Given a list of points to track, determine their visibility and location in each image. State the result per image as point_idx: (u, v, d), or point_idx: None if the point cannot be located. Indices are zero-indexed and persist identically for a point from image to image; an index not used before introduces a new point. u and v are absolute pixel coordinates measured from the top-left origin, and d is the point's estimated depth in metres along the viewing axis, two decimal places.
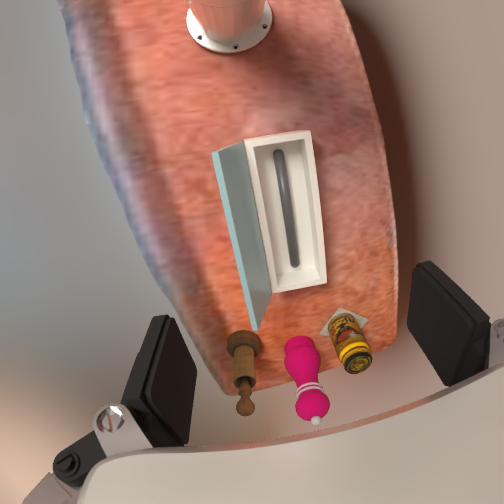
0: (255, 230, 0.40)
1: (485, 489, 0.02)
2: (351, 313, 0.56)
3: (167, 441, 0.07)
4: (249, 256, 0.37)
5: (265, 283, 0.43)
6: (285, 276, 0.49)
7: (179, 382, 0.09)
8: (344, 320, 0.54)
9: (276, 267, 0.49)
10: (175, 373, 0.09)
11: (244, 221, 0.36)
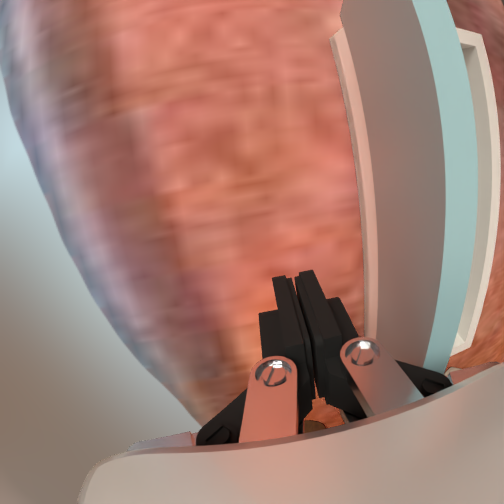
0: None
1: (485, 489, 0.02)
2: None
3: None
4: None
5: None
6: None
7: None
8: None
9: None
10: None
11: None
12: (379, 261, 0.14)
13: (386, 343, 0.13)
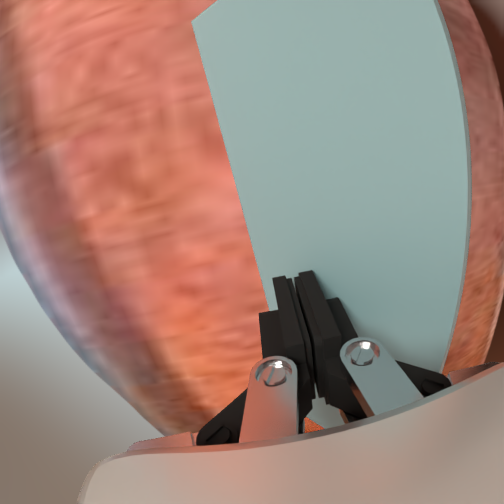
0: None
1: (485, 489, 0.02)
2: None
3: None
4: None
5: None
6: None
7: None
8: None
9: None
10: None
11: None
12: (270, 290, 0.14)
13: None
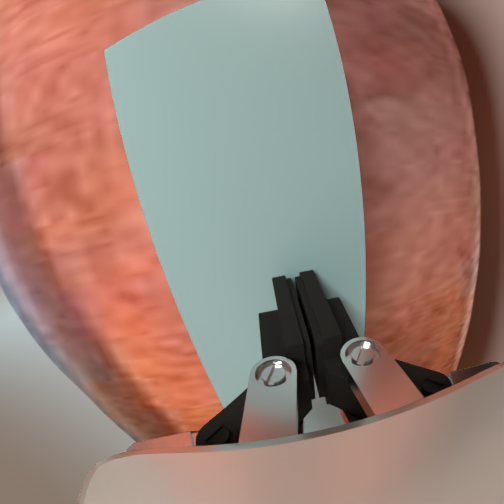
0: None
1: (485, 489, 0.02)
2: None
3: None
4: None
5: None
6: None
7: None
8: None
9: None
10: None
11: None
12: (184, 305, 0.14)
13: (253, 355, 0.14)
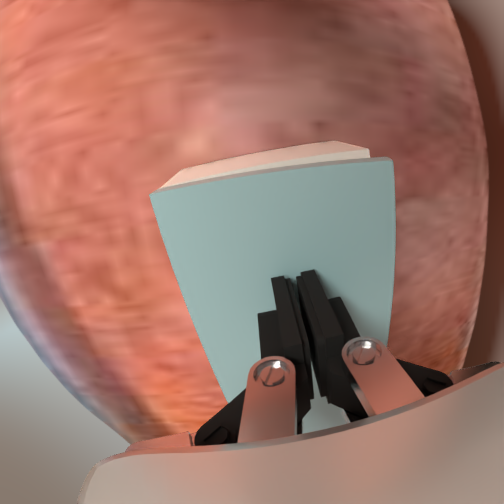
0: None
1: (485, 489, 0.02)
2: None
3: None
4: None
5: None
6: None
7: None
8: None
9: None
10: None
11: None
12: None
13: None
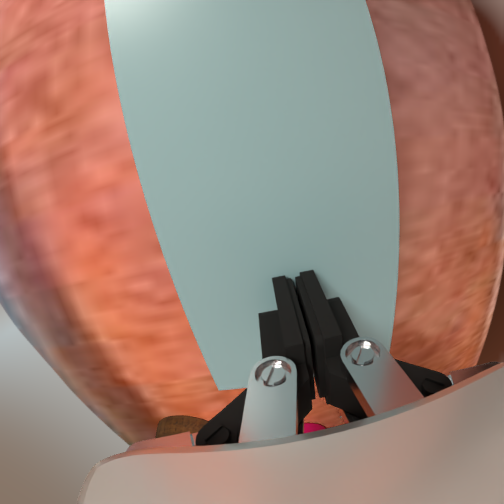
0: None
1: (485, 489, 0.02)
2: None
3: None
4: None
5: None
6: None
7: None
8: None
9: None
10: None
11: None
12: (151, 167, 0.09)
13: (255, 234, 0.10)
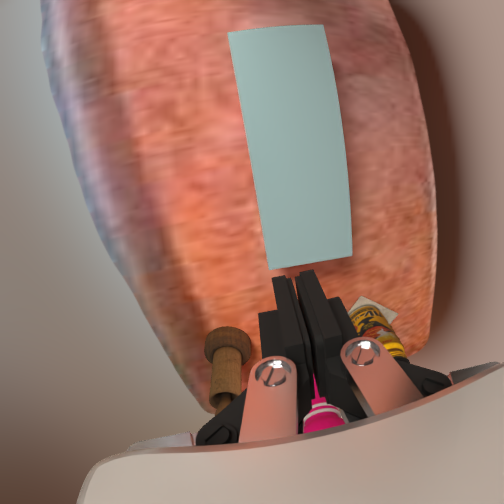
0: None
1: (485, 489, 0.02)
2: (376, 305, 0.40)
3: None
4: None
5: None
6: None
7: None
8: (368, 313, 0.38)
9: None
10: None
11: None
12: (256, 159, 0.26)
13: (293, 187, 0.27)
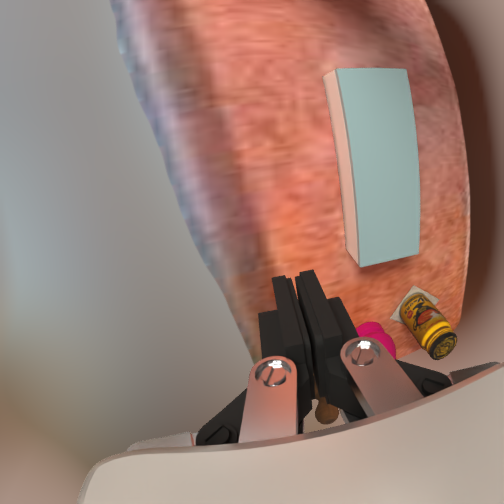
0: None
1: (485, 489, 0.02)
2: (424, 292, 0.45)
3: None
4: None
5: None
6: None
7: None
8: (419, 299, 0.43)
9: None
10: None
11: None
12: (358, 179, 0.31)
13: (383, 201, 0.32)
